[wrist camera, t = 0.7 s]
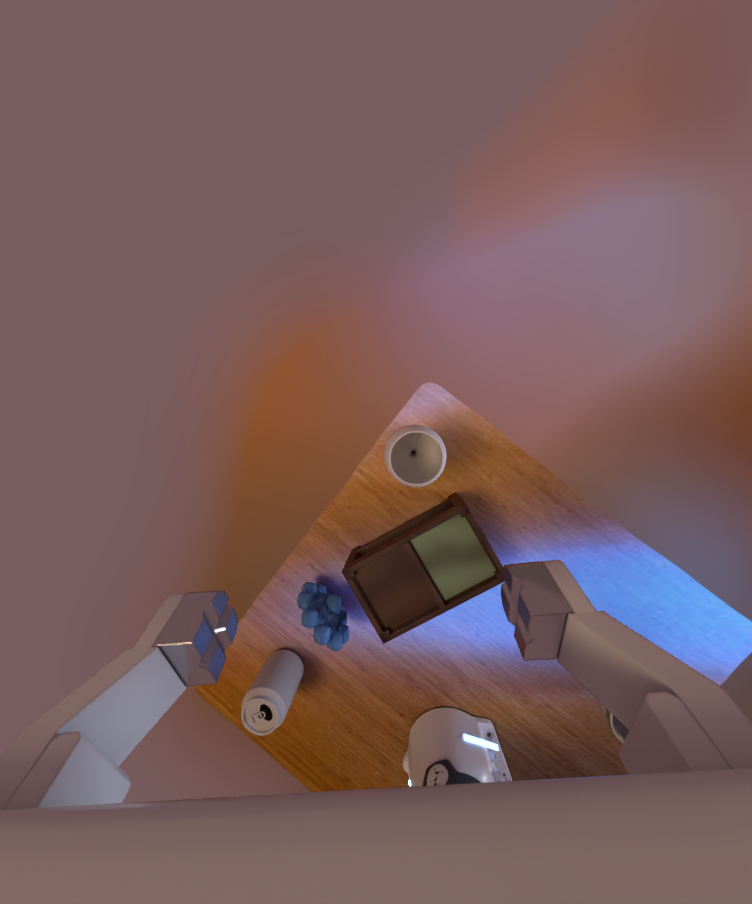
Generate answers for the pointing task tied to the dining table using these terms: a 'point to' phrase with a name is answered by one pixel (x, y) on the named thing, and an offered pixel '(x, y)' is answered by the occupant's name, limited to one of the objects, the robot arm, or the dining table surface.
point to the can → (272, 693)
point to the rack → (422, 568)
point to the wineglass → (415, 456)
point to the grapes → (323, 615)
